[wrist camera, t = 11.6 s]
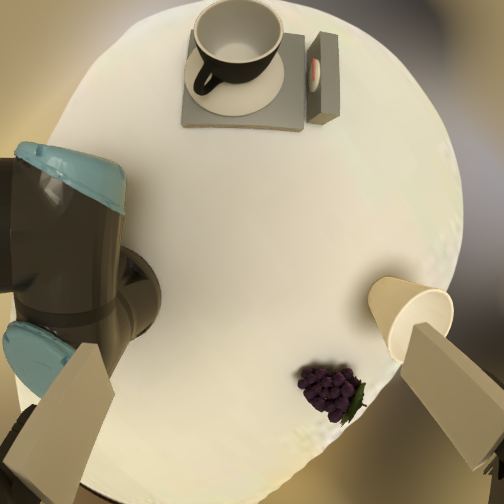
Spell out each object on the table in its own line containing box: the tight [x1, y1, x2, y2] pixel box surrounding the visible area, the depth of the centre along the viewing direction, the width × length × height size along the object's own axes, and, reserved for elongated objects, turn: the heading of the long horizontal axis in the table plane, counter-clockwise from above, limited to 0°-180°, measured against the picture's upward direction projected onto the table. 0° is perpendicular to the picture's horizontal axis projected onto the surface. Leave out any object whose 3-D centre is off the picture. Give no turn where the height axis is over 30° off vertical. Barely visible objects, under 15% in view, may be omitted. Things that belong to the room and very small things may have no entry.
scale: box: [181, 30, 340, 132], centre depth 32 cm, size 19×15×7 cm
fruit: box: [298, 367, 367, 427], centre depth 44 cm, size 10×11×15 cm
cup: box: [367, 277, 454, 364], centre depth 39 cm, size 12×12×12 cm
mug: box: [193, 0, 283, 96], centre depth 26 cm, size 12×9×10 cm
